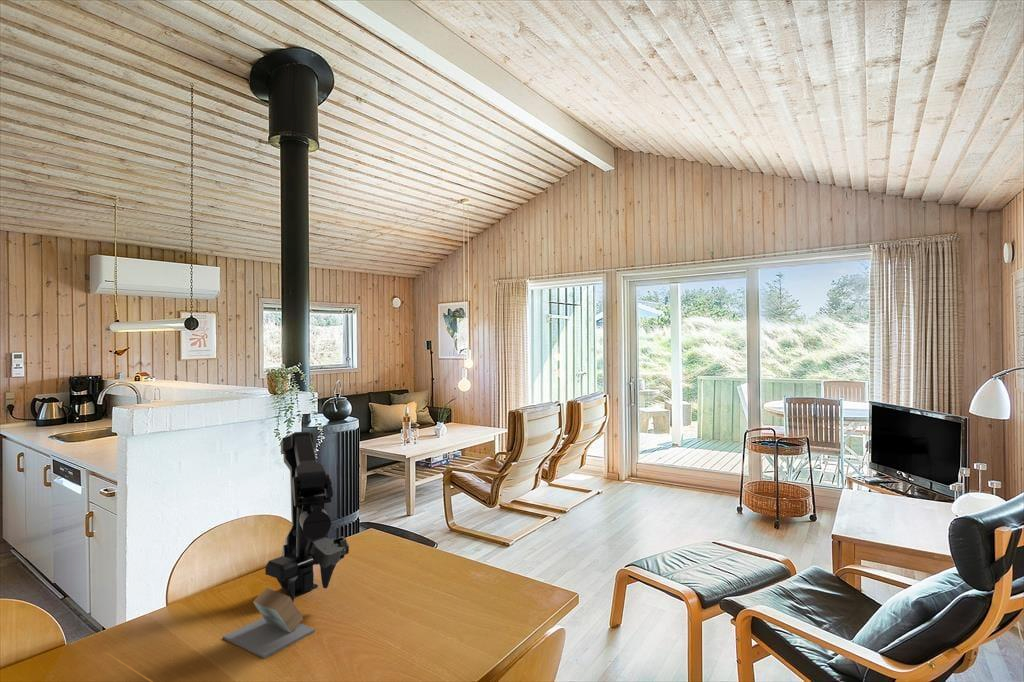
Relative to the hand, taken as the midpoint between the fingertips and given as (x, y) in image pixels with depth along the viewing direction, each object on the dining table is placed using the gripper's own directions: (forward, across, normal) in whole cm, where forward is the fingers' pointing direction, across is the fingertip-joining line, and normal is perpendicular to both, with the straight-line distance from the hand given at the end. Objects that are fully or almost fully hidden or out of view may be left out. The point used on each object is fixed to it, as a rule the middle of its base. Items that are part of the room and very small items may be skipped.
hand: (308, 595), depth 122 cm
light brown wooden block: (+3, -6, 0) cm, 7 cm away
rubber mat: (+5, -10, 0) cm, 11 cm away
